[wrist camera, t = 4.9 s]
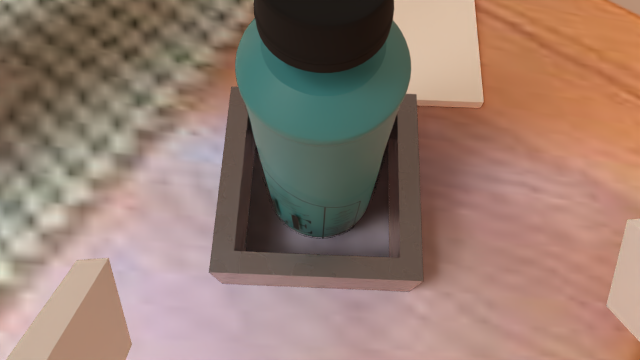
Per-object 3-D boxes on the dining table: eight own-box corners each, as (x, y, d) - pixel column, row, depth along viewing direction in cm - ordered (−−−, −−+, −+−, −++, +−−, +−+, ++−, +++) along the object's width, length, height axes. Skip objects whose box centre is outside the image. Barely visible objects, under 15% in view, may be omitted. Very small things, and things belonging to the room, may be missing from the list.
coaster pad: (281, 100, 34) (280, 94, 33) (290, -23, 38) (290, -31, 37) (479, 108, 34) (483, 102, 33) (469, -16, 38) (472, -24, 37)
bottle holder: (222, 283, 29) (208, 272, 26) (240, 117, 33) (231, 86, 30) (409, 291, 29) (423, 281, 26) (405, 124, 33) (416, 94, 30)
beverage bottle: (382, 170, 32) (477, -98, 13) (351, 263, 30) (412, 99, 11) (290, 139, 33) (259, -155, 14) (253, 228, 31) (157, 20, 12)
